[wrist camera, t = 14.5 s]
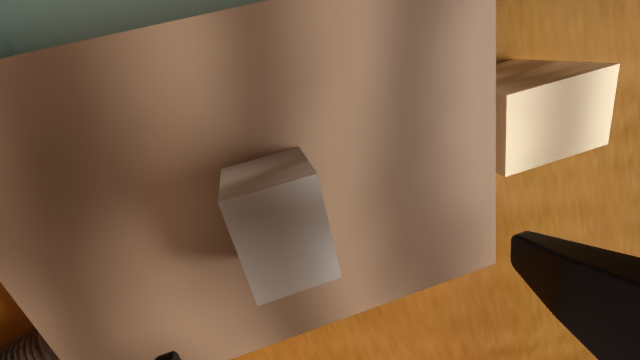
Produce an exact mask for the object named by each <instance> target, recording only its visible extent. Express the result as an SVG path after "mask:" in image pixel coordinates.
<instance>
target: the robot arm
mask: <svg viewBox="0 0 640 360" xmlns="http://www.w3.org/2000/svg"><path fill="white" fill-rule="evenodd" d="M511 263H512V265H513V267H514V269H515V270H516V271H517V272H518V273H519V275H520V276H521V277H522V278H523V279H524V281H525V282H526V283H527V284H528V285H529V287H530V288H531V289H532V290H533V291H534V292H535V294H536V295H537V296H538V297H539V298H540V300H541V301H542V302H543V303H544V304H545V306H546V307H547V308H548V309H549V310H550V311H551V312H552V314H553V315H554V316H555V317H556V318H557V319H558V320H559V321H560V322H561V323H562V324H563V325H564V326H565V327H566V328H567V329H568V330H569V331H570V332H571V333H572V334H573V335H574V336H575V337H576V338H577V339H578V340H579V341H580V342H581V343H582V344H583V345H584V346H585V347H586V348H587V349H588V350H589V351H590V352H591V353H592V354H593V355H594V356H595V357H596V358H597V359H598V360H640V257H635V256H631V255H627V254H623V253H619V252H614V251H610V250H606V249H602V248H598V247H594V246H589V245H585V244H581V243H577V242H573V241H569V240H564V239H560V238H556V237H552V236H548V235H543V234H539V233H535V232H531V231H524V232H521V233H518V234H515V235H513V237H512V238H511ZM154 360H181V358H180V356H179V354H178V353H177V352H176V351H170V352H168V353H165V354H162V355H159V356H157V357H156V358H155V359H154Z"/></svg>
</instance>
